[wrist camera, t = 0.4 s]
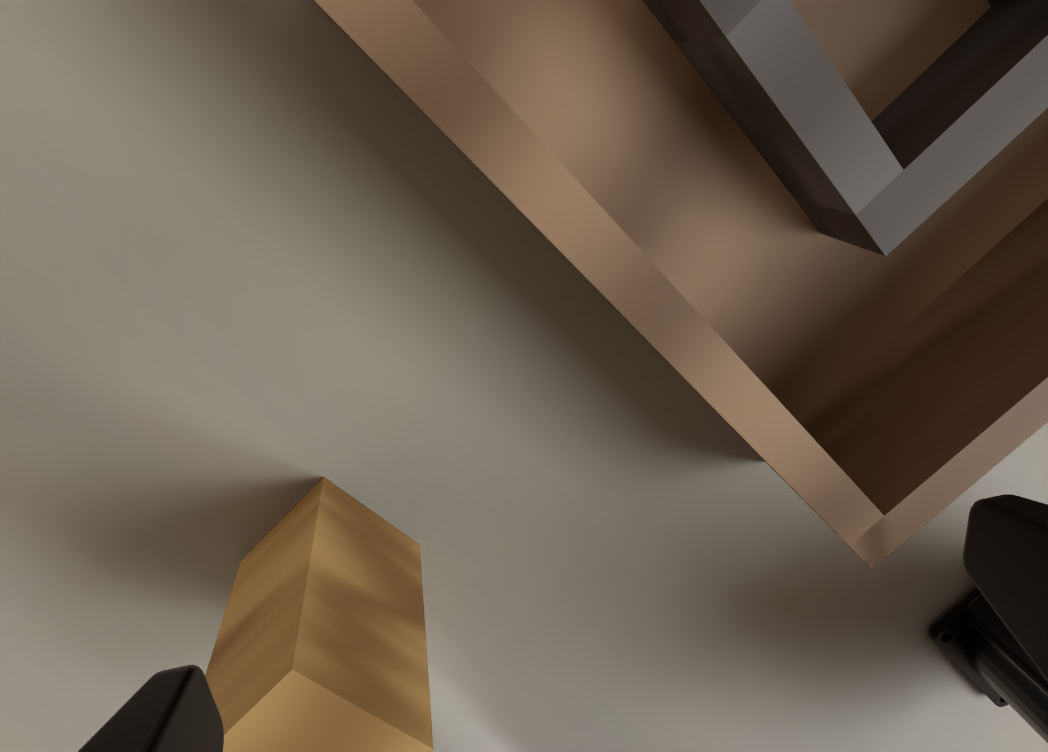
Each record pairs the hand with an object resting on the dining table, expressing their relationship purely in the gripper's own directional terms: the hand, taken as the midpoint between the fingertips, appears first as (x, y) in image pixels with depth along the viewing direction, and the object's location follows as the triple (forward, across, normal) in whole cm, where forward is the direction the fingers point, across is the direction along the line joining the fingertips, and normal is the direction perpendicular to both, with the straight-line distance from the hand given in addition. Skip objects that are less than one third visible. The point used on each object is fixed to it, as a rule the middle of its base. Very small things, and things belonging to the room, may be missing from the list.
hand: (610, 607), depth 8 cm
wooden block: (+14, +6, +8) cm, 17 cm away
